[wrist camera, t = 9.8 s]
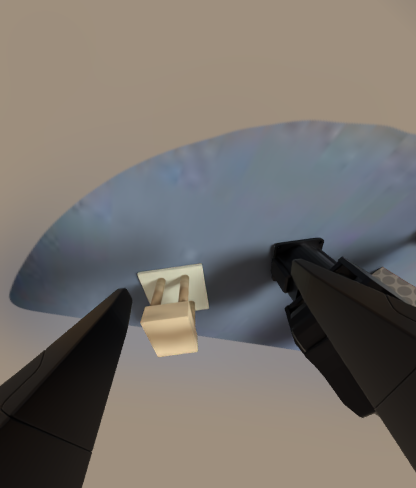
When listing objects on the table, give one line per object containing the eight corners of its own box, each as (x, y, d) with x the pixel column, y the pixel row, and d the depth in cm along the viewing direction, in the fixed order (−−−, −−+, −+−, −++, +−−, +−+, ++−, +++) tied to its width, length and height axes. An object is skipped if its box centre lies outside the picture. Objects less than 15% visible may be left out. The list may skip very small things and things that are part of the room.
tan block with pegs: (196, 305, 27) (197, 351, 21) (166, 310, 27) (158, 357, 21) (189, 272, 23) (187, 316, 17) (154, 277, 23) (140, 322, 17)
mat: (201, 263, 23) (201, 265, 23) (208, 306, 28) (209, 308, 27) (138, 272, 23) (137, 274, 23) (155, 313, 28) (155, 316, 27)
